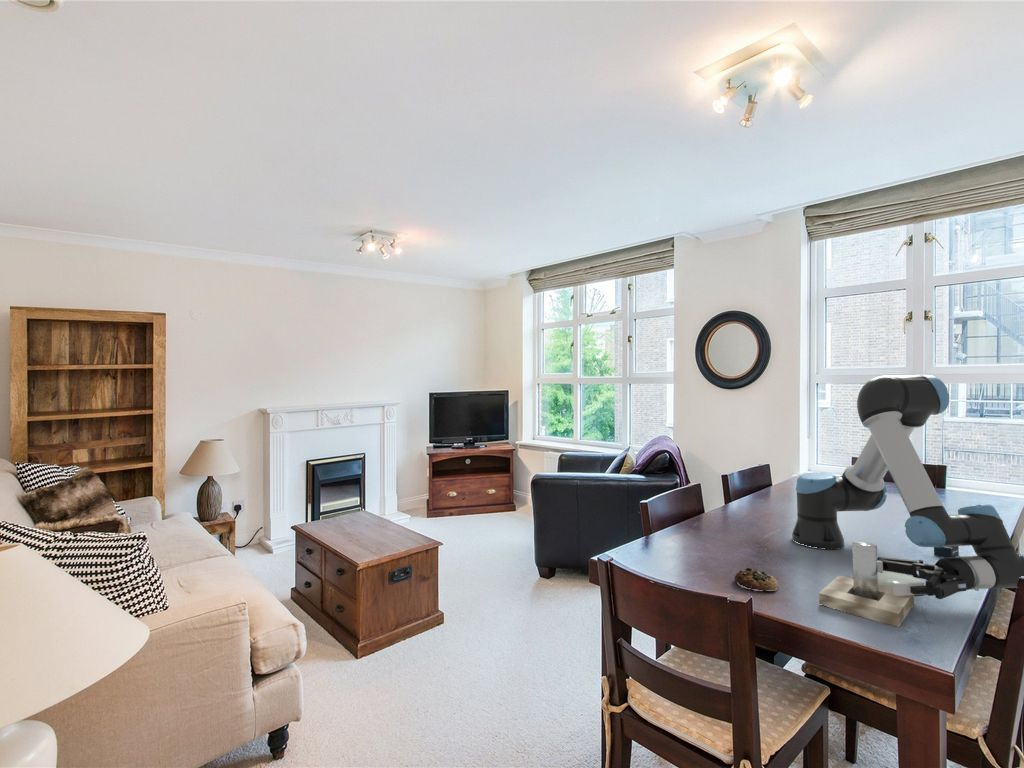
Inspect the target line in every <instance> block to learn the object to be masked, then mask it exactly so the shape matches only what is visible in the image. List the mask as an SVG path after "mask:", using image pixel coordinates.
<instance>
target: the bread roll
mask: <svg viewBox="0 0 1024 768" xmlns="http://www.w3.org/2000/svg"><path fill="white" fill-rule="evenodd" d="M735 581H736V582H738V583H739V584H740V585H743V586H745V587H747V588H751V589H758V590H775V589H776V588H777V587H779V584H778V583H779V582H778V581H777V579H776V578H775V577H774V576H773V575H772V574H770V575H769V574H768V573H767V572H765V571H761V570H758V569H757V568H751V567H747V568H745V569H743V570H742V569H741V570H739V571H738V572H736V574H735V575H734V582H735ZM736 582H735V583H736ZM777 589H778V588H777Z"/></svg>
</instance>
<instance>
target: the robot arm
mask: <svg viewBox="0 0 1024 768" xmlns="http://www.w3.org/2000/svg"><path fill="white" fill-rule="evenodd" d="M949 405H950V393H949V392H948V387H947V386H946V384H945V383H944V381H942V380H941V379H940V378H938V377H937V376H934V375H932V374H931V375H930V374H921V373H917V374H915V375H914V374H913V375H909V374H908V375H879V376H877V377H874V378H872V379H869V380H868V381H866V383H865V384H864V385H863V386H862V387H861V388H860V391H859V392H858V396H857V401H856V408H857V413H858V417H859V420H860V422H861V423H862V426H863V427H864V428H866V429H868V430H869V431H870V434H871V435H870V436H869V438H868V439H867V442H866V444H865V445H864V447H863V448H862V450H861V452H860V454H859V455H858V457H857V459H856V461H855V463H854V464H852V465H849V466H847V467H846V468H845V470H844V471H843V473H842V474H841V476H836V475H835V474H834V473H832V472H825V471H821V472H817V471H816V472H813V471H812V472H808V473H803V474H800V475H799V476H798V477H797V479H796V483H795V485H796V486H795V491H796V510H797V511H796V512H797V513H796V515H797V516H796V517H797V518H796V522H795V525H794V526H793V527H794V528H793V531H792V533H791V536H792V539H793V540H794V541H796V542H798V543H800V544H804V545H807V546H811V547H817V548H825V549H824V550H829V549H831V550H838V549H837V548H840V549H843V548H844V547H845V539H844V535H843V534H842V530H841V528H840V526H839V523H838V512H868V511H869V512H870V511H873V510H877V509H880V508H881V507H882V506H883V505H884V504H885V502H886V500H887V497H888V495H887V491H888V490H887V487H886V484H885V480H884V478H885V476H886V474H887V472H889V474H890V476H891V478H892V480H893V482H894V484H895V487H896V489H897V490H898V493H899V495H900V498H901V499H902V501H903V503H904V506H905V508H906V510H907V512H908V514H909V518H907V519H906V521H905V523H904V528H905V534H906V535H905V536H906V537H907V538H908V539H909V541H910V542H911V543H913V544H914V545H915V546H917V547H920V548H921V547H922V548H934V547H938V548H940V547H946V546H959V547H960V546H962V547H964V546H966V547H967V546H968V547H969V546H971V547H972V548H973V551H974V553H975V554H976V555H965V556H964V555H963V556H956V557H949V558H945V557H940V558H939V559H938V560H937V561H936V563H934V564H933V563H924V560H922V559H908V558H895V557H894V558H893V557H884V556H877V563H878V572H880V573H882V572H893V573H899V574H903V575H908V576H911V577H914V578H917V579H920V580H921V581H920V582H901V583H893V594H894V595H895V596H904V595H914V596H920V595H921V596H923V595H926V596H929V597H932V596H935V598H936V599H937V600H943V599H945V598H947V597H950V596H952V595H954V594H957V593H959V592H960V593H961V592H967V591H969V590H973V591H977V592H979V591H980V590H987V589H989V590H990V589H994V590H995V589H1015V588H1018V587H1017V582H1018V579H1019V577H1021V576H1024V553H1018V552H1017V549H1016V548H1015V546H1014V544H1013V542H1012V540H1011V538H1010V536H1009V534H1008V531H1007V529H1006V526H1005V525H1004V521H1003V519H1002V517H1001V516H1000V514H999V513H998V511H997V510H996V508H995V507H994V506H993V505H992V504H987V503H985V504H984V503H981V504H972V505H967V506H962V507H960V508H958V510H957V514H949V513H948V511H947V510H946V509H945V506H944V505H943V502H942V500H941V498H940V497H939V495H938V493H937V491H936V488H935V486H934V484H933V482H932V480H931V479H930V478H931V477H929V474H928V473H927V470H926V469H925V467H924V464H923V463H922V460H921V459H920V456H919V455H918V452H917V451H916V449H915V447H914V445H913V442H912V440H911V439H910V436H911V434H912V433H913V432H914V429H915V428H921V427H923V426H924V425H925V424H926V423H927V421H928V419H929V418H930V417H931V415H934V416H936V415H939V414H942V413H944V412H945V411H946V410H947V408H948V407H949ZM793 540H792V541H793ZM794 541H793V542H794ZM842 547H843V548H842ZM922 579H923V580H925V581H923V580H922ZM922 581H923V582H922ZM924 582H925V583H926V585H925V586H924Z"/></svg>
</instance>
